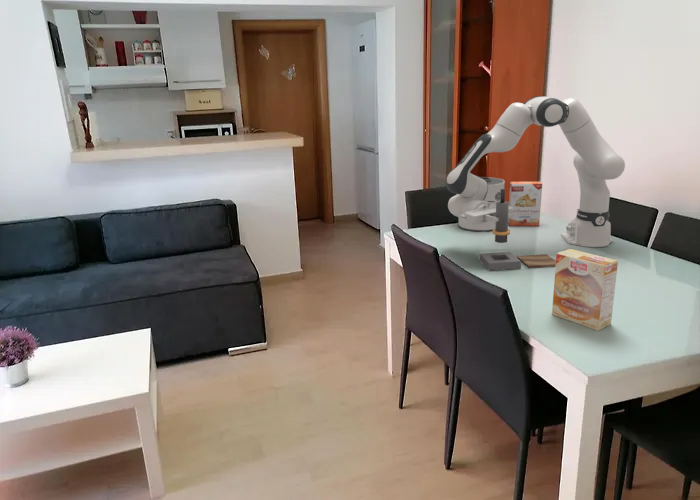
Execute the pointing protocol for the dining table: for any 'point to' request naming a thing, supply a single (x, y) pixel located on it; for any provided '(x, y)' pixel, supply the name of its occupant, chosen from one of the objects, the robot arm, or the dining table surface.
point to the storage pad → (537, 261)
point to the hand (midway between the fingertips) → (503, 218)
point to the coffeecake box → (584, 288)
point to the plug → (501, 219)
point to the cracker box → (525, 203)
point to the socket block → (500, 261)
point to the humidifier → (492, 195)
